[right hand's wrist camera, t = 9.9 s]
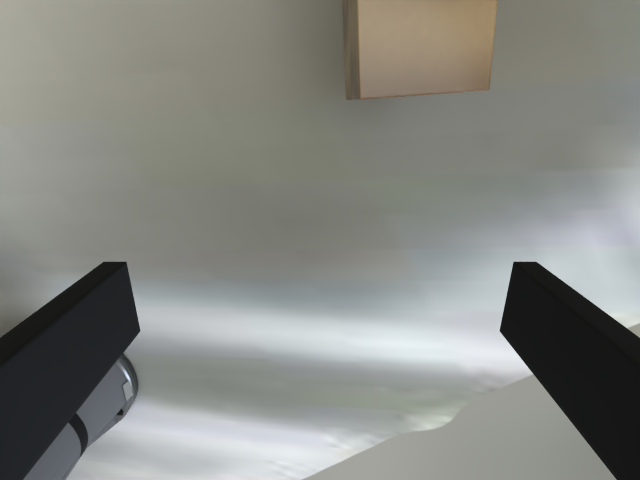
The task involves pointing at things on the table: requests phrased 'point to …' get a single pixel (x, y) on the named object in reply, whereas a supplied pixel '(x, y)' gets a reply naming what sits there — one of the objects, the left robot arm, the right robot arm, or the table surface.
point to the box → (417, 47)
